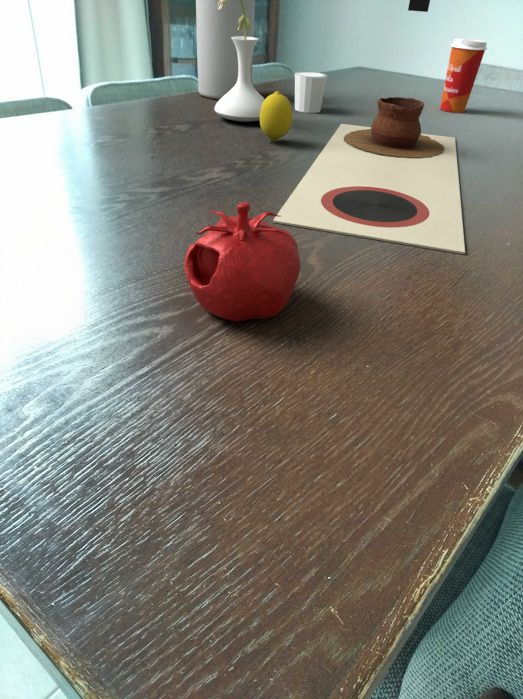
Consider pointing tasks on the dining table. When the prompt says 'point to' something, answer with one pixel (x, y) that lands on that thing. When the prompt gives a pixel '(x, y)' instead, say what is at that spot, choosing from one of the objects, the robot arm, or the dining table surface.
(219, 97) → the cylinder vase
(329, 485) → the dining table surface
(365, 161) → the cooktop
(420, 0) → the robot arm
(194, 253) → the red tomato
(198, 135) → the dining table surface
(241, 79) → the flower in vase
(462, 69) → the paper cup
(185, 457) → the dining table surface
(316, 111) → the shot glass
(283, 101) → the lemon
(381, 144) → the ceramic pot
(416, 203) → the front burner
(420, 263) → the dining table surface
